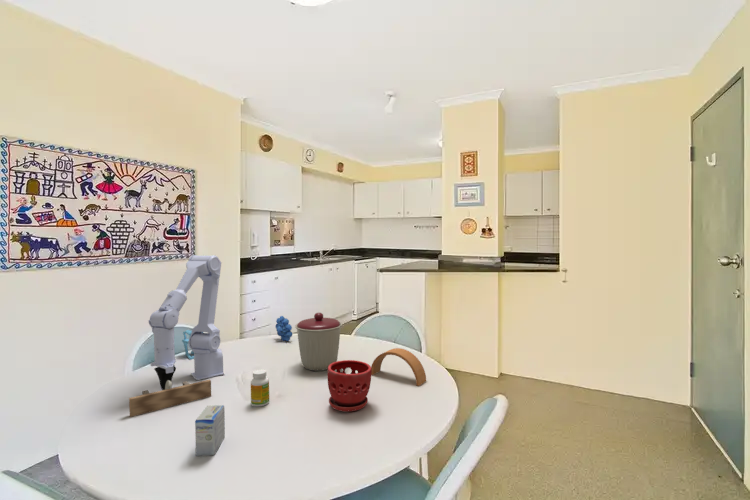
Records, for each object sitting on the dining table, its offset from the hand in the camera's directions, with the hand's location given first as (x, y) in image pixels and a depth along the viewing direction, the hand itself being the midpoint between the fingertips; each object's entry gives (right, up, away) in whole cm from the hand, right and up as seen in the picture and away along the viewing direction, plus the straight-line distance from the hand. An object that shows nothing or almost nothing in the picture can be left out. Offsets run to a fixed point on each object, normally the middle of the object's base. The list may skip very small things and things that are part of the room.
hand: (165, 389), depth 125 cm
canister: (+46, -1, +26) cm, 53 cm away
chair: (-10, -1, +41) cm, 43 cm away
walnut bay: (+3, -2, -3) cm, 5 cm away
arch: (+75, -1, +13) cm, 77 cm away
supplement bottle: (+32, -2, -7) cm, 33 cm away
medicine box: (+28, -3, -31) cm, 42 cm away
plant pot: (+60, -2, -9) cm, 61 cm away
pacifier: (+2, -2, -4) cm, 5 cm away
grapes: (+23, 0, +63) cm, 67 cm away
